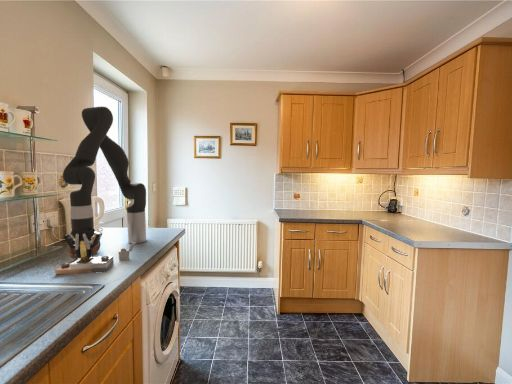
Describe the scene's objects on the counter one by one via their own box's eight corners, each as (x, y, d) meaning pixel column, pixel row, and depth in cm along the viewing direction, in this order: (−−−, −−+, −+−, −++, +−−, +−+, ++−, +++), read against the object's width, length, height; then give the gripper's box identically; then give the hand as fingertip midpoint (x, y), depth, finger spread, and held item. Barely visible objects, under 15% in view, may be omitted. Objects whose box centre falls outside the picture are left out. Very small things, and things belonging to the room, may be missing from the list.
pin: (83, 260, 105) (81, 239, 104) (90, 259, 105) (89, 238, 104) (79, 262, 102) (77, 241, 101) (87, 262, 102) (85, 240, 101)
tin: (74, 262, 112) (73, 244, 111) (68, 261, 112) (67, 243, 111) (101, 251, 126) (100, 234, 125) (96, 250, 127) (95, 234, 126)
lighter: (118, 260, 114) (117, 243, 113) (119, 259, 116) (118, 242, 115) (135, 259, 116) (135, 242, 115) (136, 257, 118) (135, 241, 117)
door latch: (66, 267, 106) (66, 255, 106) (113, 264, 109) (113, 253, 109) (55, 275, 99) (54, 262, 98) (106, 272, 102) (105, 260, 101)
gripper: (104, 214, 106) (107, 253, 108) (68, 214, 104) (71, 255, 106) (96, 217, 99) (99, 260, 101) (57, 218, 97) (60, 261, 99)
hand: (84, 257), depth 103 cm, fingers closed on pin, 3 cm apart
